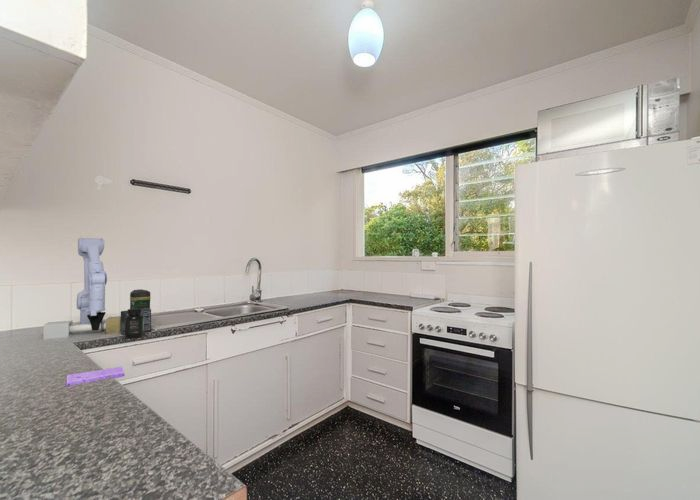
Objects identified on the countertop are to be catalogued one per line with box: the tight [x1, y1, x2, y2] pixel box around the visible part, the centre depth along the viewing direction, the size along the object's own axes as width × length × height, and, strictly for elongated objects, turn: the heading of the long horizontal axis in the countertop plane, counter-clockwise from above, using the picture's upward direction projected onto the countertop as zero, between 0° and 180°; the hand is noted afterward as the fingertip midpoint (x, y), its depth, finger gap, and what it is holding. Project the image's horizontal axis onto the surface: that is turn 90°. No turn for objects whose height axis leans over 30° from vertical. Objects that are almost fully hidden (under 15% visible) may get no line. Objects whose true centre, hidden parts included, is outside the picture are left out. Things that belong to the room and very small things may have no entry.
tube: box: [69, 321, 106, 334], centre depth 143 cm, size 18×4×4 cm, turn 119°
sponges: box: [66, 366, 126, 387], centre depth 90 cm, size 7×13×2 cm, turn 129°
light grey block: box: [42, 320, 74, 341], centre depth 138 cm, size 8×6×6 cm
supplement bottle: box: [124, 308, 145, 339], centre depth 138 cm, size 7×7×12 cm
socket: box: [105, 315, 121, 335], centre depth 148 cm, size 5×7×6 cm
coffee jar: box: [129, 289, 151, 309], centre depth 159 cm, size 10×8×19 cm
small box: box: [120, 308, 152, 336], centre depth 146 cm, size 11×6×10 cm, turn 144°
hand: (96, 329), depth 145 cm, fingers closed on tube, 3 cm apart
